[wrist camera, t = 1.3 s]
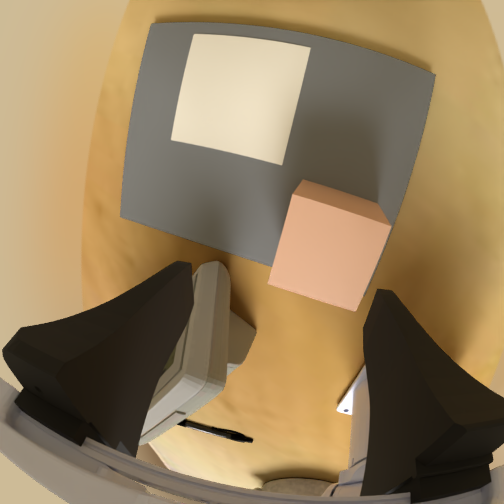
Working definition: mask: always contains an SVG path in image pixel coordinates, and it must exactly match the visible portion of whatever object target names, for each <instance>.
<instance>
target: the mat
mask: <svg viewBox="0 0 504 504" xmlns="http://www.w3.org/2000/svg"><path fill="white" fill-rule="evenodd" d="M435 76H436V75H435V74H433V73H431V72H429V71H426V70H424V69H422V68H419V67H417V66H414V65H412V64H409V63H407V62H404V61H402V60H399V59H396V58H393V57H391V56H388V55H385V54H382V53H379V52H376V51H373V50H370V49H366V48H363V47H360V46H356V45H353V44H349V43H346V42H342V41H338V40H334V39H330V38H325V37H321V36H316V35H312V34H307V33H302V32H296V31H290V30H284V29H278V28H270V27H263V26H254V25H243V24H231V23H210V22H173V23H153V24H151V26H150V30H149V34H148V37H147V41H146V45H145V49H144V53H143V57H142V61H141V66H140V70H139V75H138V80H137V85H136V90H135V95H134V100H133V106H132V112H131V118H130V124H129V131H128V138H127V146H126V154H125V162H124V172H123V183H122V196H121V211H120V217H122V218H125V219H128V220H131V221H134V222H137V223H140V224H143V225H146V226H149V227H152V228H155V229H158V230H161V231H164V232H167V233H170V234H173V235H176V236H179V237H182V238H185V239H188V240H191V241H194V242H197V243H200V244H203V245H206V246H209V247H212V248H215V249H218V250H221V251H224V252H227V253H231V254H234V255H237V256H240V257H243V258H246V259H249V260H252V261H255V262H258V263H261V264H264V265H267V266H271V267H272V266H273V263H274V259H275V256H276V252H277V248H278V245H279V241H280V238H281V234H282V230H283V227H284V223H285V220H286V216H287V212H288V208H289V205H290V201H291V197H292V194H293V193H294V191H295V190H296V188H297V187H298V186H299V184H300V183H301V182H302V180H303V179H304V180H307V181H310V182H314V183H317V184H320V185H324V186H327V187H330V188H333V189H336V190H339V191H342V192H345V193H348V194H351V195H354V196H357V197H360V198H363V199H366V200H369V201H372V202H375V203H378V205H379V206H380V208H381V209H382V211H383V213H384V214H385V216H386V218H387V220H388V221H389V223H390V225H391V226H392V227H391V229H390V232H389V235H388V237H387V240H386V243H385V245H384V248H383V250H382V253H381V255H380V258H379V260H378V262H377V265H376V267H375V270H374V272H373V274H372V277H371V279H370V281H369V283H368V286H367V288H366V290H365V292H364V295H363V296H365V294H366V292H367V289H368V287H369V285H370V283H371V280H372V278H373V276H374V273H375V271H376V269H377V266H378V264H379V262H380V259H381V257H382V254H383V252H384V249H385V247H386V244H387V242H388V239H389V237H390V234H391V231H392V229H393V226H394V223H395V221H396V218H397V215H398V212H399V210H400V207H401V204H402V201H403V198H404V195H405V192H406V189H407V186H408V183H409V180H410V176H411V173H412V170H413V167H414V163H415V160H416V156H417V153H418V149H419V146H420V142H421V138H422V135H423V131H424V127H425V123H426V119H427V114H428V110H429V106H430V101H431V96H432V92H433V87H434V81H435Z"/></svg>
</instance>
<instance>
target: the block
mask: <svg viewBox="0 0 504 504" xmlns="http://www.w3.org/2000/svg"><path fill="white" fill-rule="evenodd" d="M391 227H392V226H391V225H390V223H389V221H388V220H387V218H386V216H385V214H384V213H383V211H382V209H381V208H380V206H379V205H378V203H375V202H372V201H369V200H366V199H363V198H360V197H357V196H354V195H351V194H348V193H345V192H342V191H339V190H336V189H333V188H330V187H327V186H324V185H320V184H317V183H314V182H310V181H307V180H304V179H303V180H302V182H301V183H300V184H299V186H298V187H297V188H296V190H295V191H294V193H293V194H292V197H291V201H290V205H289V208H288V212H287V216H286V220H285V223H284V227H283V230H282V234H281V238H280V241H279V245H278V248H277V252H276V256H275V259H274V263H273V266H272V270H271V273H270V277H269V280H268V284H269V285H272V286H275V287H279V288H282V289H285V290H288V291H291V292H294V293H297V294H300V295H303V296H306V297H310V298H313V299H316V300H319V301H322V302H325V303H328V304H332V305H335V306H338V307H341V308H345V309H348V310H351V311H354V312H356V310H357V308H358V305H359V303H360V301H361V299H362V297H363V295H364V292H365V290H366V288H367V286H368V283H369V281H370V279H371V277H372V274H373V272H374V270H375V267H376V265H377V262H378V260H379V258H380V255H381V253H382V250H383V248H384V245H385V243H386V240H387V237H388V235H389V232H390V229H391Z"/></svg>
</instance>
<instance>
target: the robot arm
mask: <svg viewBox="0 0 504 504" xmlns="http://www.w3.org/2000/svg"><path fill="white" fill-rule="evenodd" d="M193 306H194V293H193V280H192V266H191V263H187V262H181V261H176V262H174V263H172V264H171V265H169V266H167V267H166V268H164V269H163V270H161V271H160V272H158V273H156V274H155V275H153V276H152V277H150V278H148V279H147V280H145V281H144V282H142V283H141V284H139V285H137V286H135V287H134V288H132V289H130V290H128V291H127V292H125V293H123V294H121V295H120V296H118V297H116V298H114V299H112V300H110V301H108V302H106V303H104V304H101V305H99V306H97V307H95V308H92V309H90V310H87V311H84V312H81V313H79V314H76V315H74V316H70V317H67V318H64V319H60V320H57V321H53V322H49V323H44V324H39V325H33V326H27V327H22V328H20V329H19V330H18V332H17V333H16V334H15V335H14V336H13V337H12V339H11V340H10V341H9V342H8V343H7V344H6V346H5V347H4V348H3V349H2V352H3V357H4V360H5V362H6V363H7V365H8V367H9V368H10V369H11V371H12V372H13V374H14V375H15V376H16V378H17V379H18V381H19V382H20V383H21V385H22V386H23V387H24V388H23V390H22V391H21V392H19V391H17V390H16V389H15V388H14V387H13V386H11V385H10V384H9V383H7V382H5V381H4V380H3V379H2V378H0V452H1V453H2V454H3V455H5V456H6V457H7V458H8V459H9V460H10V461H12V462H13V463H14V464H15V465H16V466H17V467H19V468H20V469H21V470H22V471H24V472H25V473H26V474H28V475H29V476H30V477H31V478H33V479H34V480H35V481H37V482H38V483H40V484H41V485H42V486H44V487H45V488H47V489H48V490H49V491H51V492H52V493H54V494H55V495H57V496H58V497H60V498H62V499H63V500H65V501H66V502H68V503H69V504H185V503H181V502H178V501H175V500H171V499H167V498H164V497H161V496H158V495H155V494H151V493H149V492H148V491H147V490H146V488H145V486H143V485H141V484H139V483H142V484H144V485H147V486H150V487H153V488H155V489H158V490H161V491H164V492H167V493H170V494H173V495H177V496H180V497H184V498H187V499H190V500H194V501H198V502H202V503H206V504H504V465H502V466H499V467H496V468H494V469H492V470H490V469H489V464H490V463H492V462H493V455H492V452H494V451H495V450H496V449H497V448H499V447H500V446H501V445H502V444H503V443H504V398H503V397H502V396H500V395H498V394H496V393H494V392H493V391H492V390H490V389H489V388H487V387H486V386H484V385H483V384H481V383H480V382H479V381H477V380H476V379H475V378H473V377H472V376H471V375H469V374H468V373H467V372H466V371H465V370H463V369H462V368H461V367H460V366H459V365H458V364H456V363H455V362H454V361H453V360H452V359H451V358H450V357H449V356H448V355H447V354H446V353H445V352H444V351H443V350H442V349H441V348H440V347H439V346H438V345H437V344H436V343H435V342H434V341H433V339H432V338H431V337H430V336H429V335H428V334H427V333H426V331H425V330H424V329H423V328H422V327H421V326H420V324H419V323H418V322H417V321H416V319H415V318H414V317H413V316H412V314H411V313H410V312H409V311H408V309H407V308H406V307H405V306H404V304H403V303H402V302H401V301H400V299H399V298H398V297H397V296H396V295H395V293H394V292H393V291H392V290H384V289H377V291H376V294H375V297H374V300H373V303H372V305H371V308H370V311H369V314H368V316H367V319H366V322H365V324H364V327H363V351H364V358H365V365H364V367H363V368H362V370H361V371H360V373H359V374H358V376H357V378H356V379H355V381H354V382H353V384H352V385H351V387H350V388H349V390H348V391H347V393H346V394H345V395H344V397H343V398H342V400H341V401H340V403H339V404H338V405H337V411H338V412H341V413H346V414H350V415H352V422H351V438H350V451H349V462H348V469H347V470H343V471H340V474H339V481H338V483H334V484H331V485H330V486H329V487H328V488H327V489H326V490H325V492H324V493H323V494H322V496H306V495H293V494H282V493H274V492H266V491H259V490H252V489H246V488H240V487H235V486H230V485H225V484H220V483H216V482H212V481H207V480H203V479H199V478H196V477H192V476H188V475H185V474H181V473H178V472H174V471H171V470H168V469H165V468H162V467H158V466H156V465H153V464H150V463H147V462H144V461H142V460H139V459H136V454H137V450H138V445H139V441H140V437H141V433H142V430H143V426H144V423H145V419H146V416H147V413H148V410H149V407H150V404H151V401H152V398H153V395H154V392H155V389H156V386H157V384H158V381H159V378H160V376H161V374H162V371H163V369H164V367H165V365H166V363H167V361H168V359H169V357H170V356H171V354H172V352H173V350H174V348H175V346H176V344H177V342H178V341H179V339H180V337H181V335H182V333H183V331H184V329H185V327H186V325H187V323H188V320H189V318H190V315H191V312H192V309H193ZM133 480H134V481H133ZM135 481H136V482H135ZM137 482H139V483H137Z"/></svg>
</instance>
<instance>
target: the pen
mask: <svg viewBox="0 0 504 504" xmlns="http://www.w3.org/2000/svg"><path fill="white" fill-rule="evenodd" d="M177 425H180V426H184V427H188V428H192V429H195V430H198V431H202V432H205V433H208V434H212V435H216V436H219V437H223V438H227V439H231V440H234V441H238V442H243V443H244V442H248V443H252V442H253V439H251V438H247V437H245V436H244V435H243V434H241V433H238V432H236V431H232V430H226V429H217V428H215V427H212V428H210V427H206V426H203V425H200V424H196V423H193V422H190V421H187V420H185V419H184V420H182V421H181V422H179V423H178V424H177ZM225 431H226V432H225ZM229 432H232V433H229ZM233 433H236V434H233Z"/></svg>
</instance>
